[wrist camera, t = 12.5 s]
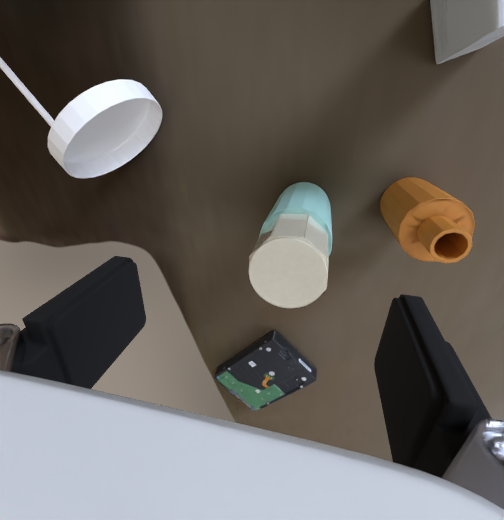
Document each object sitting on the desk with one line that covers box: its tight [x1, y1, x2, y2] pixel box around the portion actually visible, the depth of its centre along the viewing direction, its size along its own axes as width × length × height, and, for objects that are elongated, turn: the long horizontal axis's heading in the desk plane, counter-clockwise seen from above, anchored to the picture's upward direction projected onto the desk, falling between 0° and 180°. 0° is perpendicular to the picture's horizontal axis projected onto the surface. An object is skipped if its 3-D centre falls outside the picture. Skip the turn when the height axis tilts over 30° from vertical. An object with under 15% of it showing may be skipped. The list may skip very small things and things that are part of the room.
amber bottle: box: [380, 177, 475, 263], centre depth 28 cm, size 6×6×14 cm
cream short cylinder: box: [249, 214, 329, 308], centre depth 24 cm, size 6×6×6 cm
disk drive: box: [214, 330, 316, 410], centre depth 49 cm, size 10×3×15 cm
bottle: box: [259, 182, 332, 256], centre depth 30 cm, size 7×7×16 cm
